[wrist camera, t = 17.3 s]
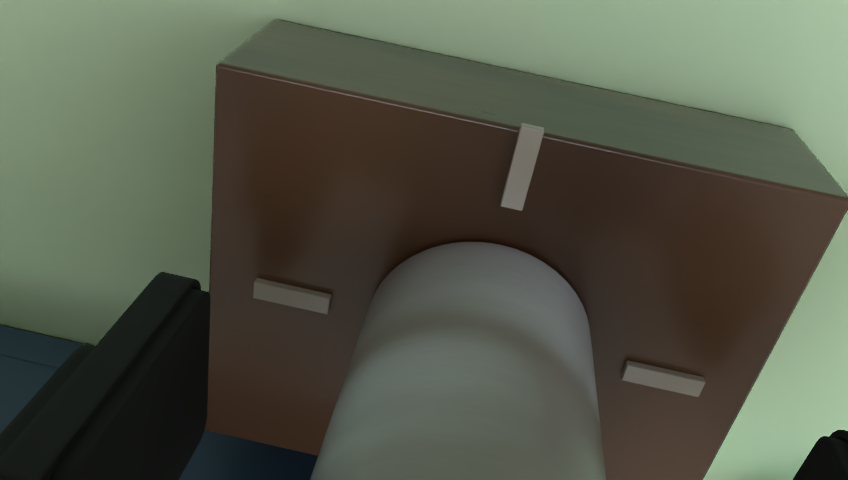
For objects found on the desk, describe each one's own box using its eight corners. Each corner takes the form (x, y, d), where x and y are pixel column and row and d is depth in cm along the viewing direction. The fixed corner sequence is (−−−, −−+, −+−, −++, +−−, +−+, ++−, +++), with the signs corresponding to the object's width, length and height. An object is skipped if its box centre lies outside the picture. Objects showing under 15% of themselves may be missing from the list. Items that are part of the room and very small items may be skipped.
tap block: (250, 346, 18) (200, 440, 15) (274, 12, 14) (210, 59, 11) (652, 437, 18) (672, 548, 15) (797, 123, 14) (862, 199, 11)
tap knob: (354, 393, 14) (257, 701, 9) (383, 216, 12) (281, 487, 7) (556, 438, 14) (567, 774, 9) (619, 268, 12) (678, 579, 7)
